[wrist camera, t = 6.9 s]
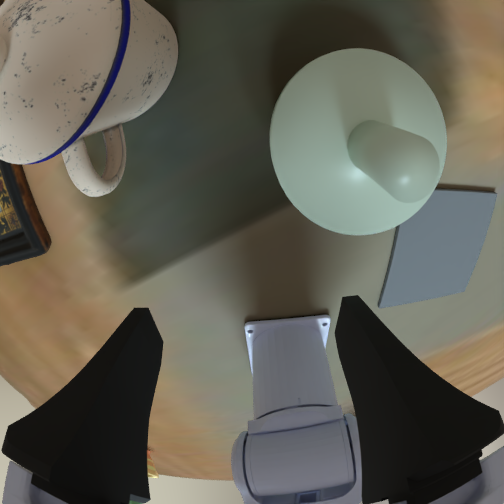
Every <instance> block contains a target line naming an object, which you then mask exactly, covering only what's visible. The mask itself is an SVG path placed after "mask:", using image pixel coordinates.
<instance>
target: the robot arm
mask: <svg viewBox="0 0 504 504" xmlns="http://www.w3.org/2000/svg"><path fill="white" fill-rule="evenodd" d="M329 326H330V316H329V315H318V316H309V317H300V318H290V319H279V320H266V321H253V322H247V323H245V334H246V340H247V347H248V353H249V359H250V365H251V371H252V376H253V407H254V420H251V421H248V431H244V432H241V434H240V435H239V436H238V438H237V439H236V440H235V442H234V444H233V448H232V455H231V467H232V474H233V479H234V482H235V484H236V487H237V488H238V490H239V491H240V493H241V495H242V498H243V501H244V504H359V503H360V502H361V501H362V503H363V504H371V503H375V502H380V501H383V500H386V499H388V501H389V504H503V503H504V446H503V447H501V448H500V449H498V450H497V451H495V452H493V453H492V454H490V455H489V456H487V457H485V458H484V459H482V460H479V458H480V457H481V456H482V450H481V449H483V448H484V447H486V446H487V445H489V444H490V443H492V442H493V441H495V440H496V439H497V438H499V437H500V436H501V435H503V434H504V423H503V420H502V418H501V415H500V413H499V411H498V410H496V409H494V408H491V407H489V406H487V405H485V404H483V403H481V402H479V401H477V400H475V399H473V398H472V397H470V396H468V395H467V394H465V393H463V392H462V391H460V390H458V389H457V388H455V387H454V386H453V385H451V384H450V383H448V382H447V381H445V380H444V379H443V378H441V377H440V376H439V375H437V374H436V373H435V372H433V371H432V370H431V369H430V368H429V367H427V366H426V365H425V364H424V363H423V362H421V361H420V360H419V359H418V358H417V357H416V356H415V355H414V354H413V353H412V352H411V351H410V350H409V349H407V348H406V347H405V346H404V345H403V344H402V343H401V342H400V341H399V340H398V339H397V337H396V336H395V335H394V334H393V333H392V332H391V331H390V330H389V329H388V328H387V327H386V326H385V325H384V324H383V322H382V321H381V320H380V319H379V318H378V317H377V316H376V315H375V314H374V313H373V311H372V310H371V309H370V308H369V307H368V306H367V305H366V304H365V302H364V301H363V300H362V299H361V298H360V297H359V296H358V295H356V296H347V297H342V302H341V307H340V312H339V316H338V321H337V325H336V329H335V338H336V343H337V349H338V354H339V358H340V361H341V365H342V368H343V371H344V374H345V378H346V381H347V384H348V387H349V391H350V394H351V398H352V401H353V405H354V409H355V413H356V417H355V416H353V415H352V414H351V413H348V414H344V416H343V413H342V408H341V405H338V403H337V398H336V394H335V389H334V385H333V380H332V376H331V371H330V367H329V363H328V359H327V355H326V350H325V347H326V342H327V337H328V331H329ZM162 351H163V340H162V338H161V335H160V333H159V331H158V329H157V327H156V324H155V322H154V320H153V317H152V315H151V313H150V310H149V308H134V309H133V310H132V311H131V312H130V313H129V315H128V316H127V317H126V318H125V319H124V321H123V322H122V323H121V324H120V326H119V327H118V328H117V329H116V331H115V332H114V333H113V334H112V335H111V337H110V338H109V339H108V340H107V341H106V343H105V344H104V345H103V346H102V348H101V349H100V350H99V351H98V352H97V353H96V354H95V356H94V357H93V358H92V359H91V360H90V361H89V362H88V363H87V365H86V366H85V367H84V368H83V369H82V370H81V371H80V372H79V373H78V374H77V375H76V376H75V377H74V378H73V379H72V380H71V381H70V382H69V383H68V384H67V385H66V386H65V387H64V388H62V389H61V390H60V391H59V392H58V393H56V394H55V395H54V396H53V397H52V398H51V399H49V400H48V401H47V402H45V403H44V404H43V405H41V406H40V407H39V408H37V409H36V410H34V411H33V412H31V413H30V414H29V415H27V416H25V417H23V418H21V419H20V420H18V421H16V422H14V423H13V424H11V425H9V426H8V429H7V432H6V435H5V440H4V443H3V446H2V453H3V454H4V455H6V456H7V457H9V458H10V459H11V460H13V461H14V462H16V463H17V464H16V463H14V462H13V461H10V462H9V466H8V471H7V476H6V481H5V487H4V493H3V501H2V503H3V504H129V503H130V500H131V501H135V502H139V503H146V502H148V501H149V500H150V493H149V484H148V468H147V443H148V427H149V417H150V411H151V406H152V402H153V397H154V393H155V388H156V384H157V380H158V375H159V371H160V366H161V360H162ZM18 464H19V465H18ZM23 467H24V468H23Z"/></svg>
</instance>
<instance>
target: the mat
mask: <svg viewBox="0 0 504 504" xmlns="http://www.w3.org/2000/svg"><path fill="white" fill-rule="evenodd" d="M496 197H497V193H495V192H486V191H473V190H456V189H435V190H434V191H433V193H432V195H431V196H430V197H429V199H428V200H427V202H426V203H425V204H424V205H423V206H422V207H421V208H420V209H419V211H417V212H416V213H415V214H414V215H413V216H412V217H410V218H409V219H408V220H406V221H405V222H403V223H402V224H400V225H398V226H397V229H396V234H395V239H394V244H393V248H392V253H391V257H390V262H389V266H388V270H387V274H386V278H385V281H384V285H383V289H382V292H381V296H380V299H379V303H378V307H379V308H385V307H391V306H396V305H402V304H407V303H413V302H418V301H423V300H428V299H433V298H438V297H442V296H447V295H451V294H456V293H460V292H464V291H465V289H466V287H467V284H468V282H469V280H470V277H471V275H472V272H473V270H474V267H475V265H476V262H477V260H478V257H479V254H480V251H481V249H482V246H483V243H484V240H485V237H486V234H487V230H488V227H489V224H490V220H491V217H492V213H493V209H494V205H495V201H496Z"/></svg>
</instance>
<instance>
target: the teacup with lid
mask: <svg viewBox="0 0 504 504" xmlns="http://www.w3.org/2000/svg"><path fill="white" fill-rule="evenodd" d="M177 59H178V43H177V38H176V34H175V32H174V29H173V27H172V26H171V24H170V23H169V21H168V20H167V19H166V18H165V17H164V16H163V15H162V14H161V13H159V12H158V11H157V10H156V9H154V8H153V7H152V6H151V5H149V4H148V3H147V2H145V1H144V0H6V1H5V2H4V3H3V4H2V5H1V7H0V159H1V160H3V161H5V162H8V163H12V164H35V163H40V162H43V161H46V160H48V159H50V158H52V157H54V156H56V155H58V154H59V153H61V152H62V156H63V159H64V163H65V166H66V168H67V171H68V174H69V176H70V178H71V180H72V181H73V183H74V184H75V186H76V187H77V188H78V189H79V190H80V191H81V192H83V193H84V194H86V195H88V196H90V197H98V196H102V195H105V194H107V193H109V192H111V191H112V190H114V189H115V188H116V186H117V185H118V184H119V182H120V180H121V178H122V175H123V172H124V169H125V164H126V144H125V138H124V133H123V128H122V123H125V122H127V121H130V120H132V119H134V118H136V117H138V116H139V115H141V114H143V113H144V112H145V111H147V110H148V109H149V108H150V107H151V106H153V105H154V104H155V103H156V102H157V100H158V99H159V98H160V97H161V96H162V94H163V93H164V92H165V90H166V89H167V87H168V85H169V83H170V81H171V79H172V77H173V75H174V72H175V69H176V65H177ZM99 131H102V133H103V137H104V141H105V146H106V165H105V169H104V172H103V175H102V177H100V176H99V175H98V174H97V172H96V171H95V170H94V168H93V166H92V164H91V161H90V159H89V156H88V152H87V149H86V145H85V142H84V137H86V136H89V135H91V134H94V133H96V132H99Z"/></svg>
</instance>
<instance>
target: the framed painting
mask: <svg viewBox="0 0 504 504" xmlns="http://www.w3.org/2000/svg"><path fill="white" fill-rule="evenodd" d="M3 3H4V0H0V7H1V5H2V4H3ZM50 245H51V239H50V236H49V234H48V232H47V230H46V228H45V225H44V223H43V221H42V219H41V216H40V214H39V211H38V209H37V206H36V204H35V201H34V199H33V196H32V194H31V191H30V188H29V185H28V183H27V180H26V177H25V174H24V171H23V167H22V164H12V163H8V162H5V161H3V160H1V159H0V266H3V265H9V264H11V263H15V262H18V261H22V260H25V259H29V258H33V257H37V256H40V255H43V254H45V253H46V252H47V251H48V250H49V248H50Z"/></svg>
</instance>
